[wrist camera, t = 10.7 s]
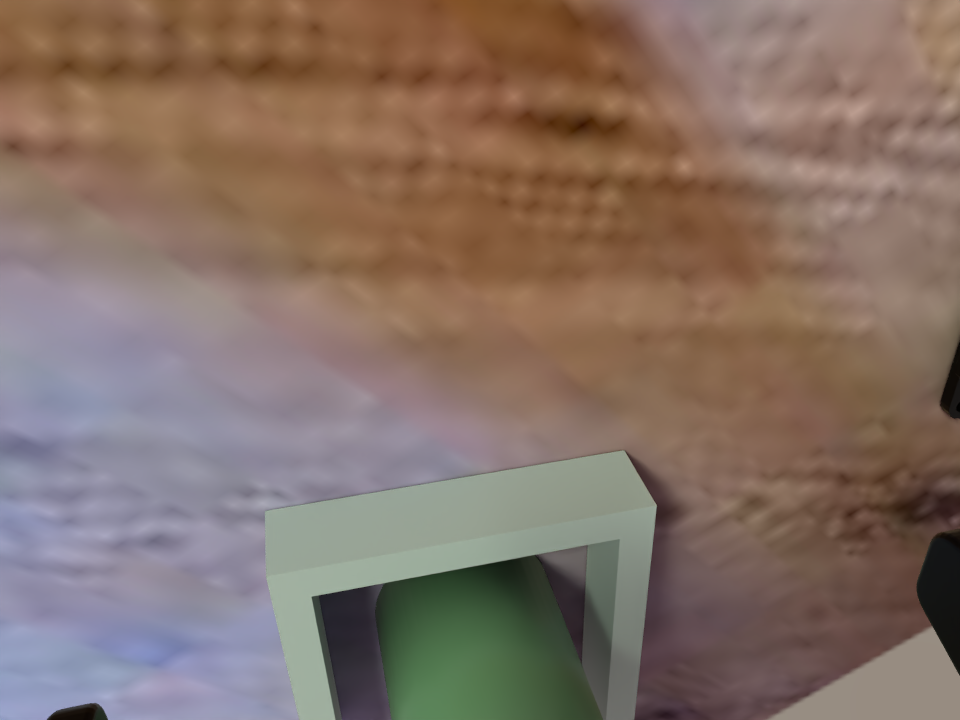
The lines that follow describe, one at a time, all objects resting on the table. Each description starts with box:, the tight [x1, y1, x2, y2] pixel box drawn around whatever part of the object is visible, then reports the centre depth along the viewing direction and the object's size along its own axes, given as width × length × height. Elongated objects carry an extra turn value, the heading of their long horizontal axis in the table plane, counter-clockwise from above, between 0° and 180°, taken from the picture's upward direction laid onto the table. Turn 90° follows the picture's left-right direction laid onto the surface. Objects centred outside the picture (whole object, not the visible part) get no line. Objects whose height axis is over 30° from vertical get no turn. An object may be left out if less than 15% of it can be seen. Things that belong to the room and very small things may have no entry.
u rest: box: [265, 450, 657, 720], centre depth 26 cm, size 10×10×2 cm
